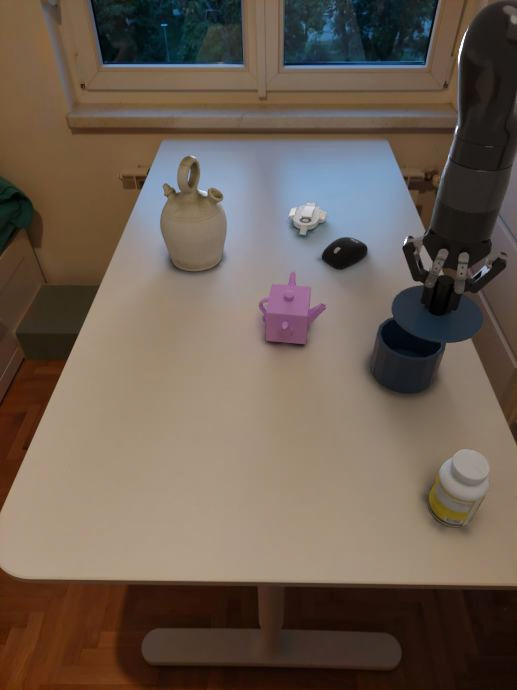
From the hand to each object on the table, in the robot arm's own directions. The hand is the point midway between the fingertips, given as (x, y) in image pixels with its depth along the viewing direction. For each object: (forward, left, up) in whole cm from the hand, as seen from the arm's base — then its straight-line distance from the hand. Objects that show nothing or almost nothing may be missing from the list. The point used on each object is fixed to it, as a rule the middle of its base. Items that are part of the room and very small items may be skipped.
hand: (438, 307), depth 72 cm
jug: (+55, -30, -23) cm, 67 cm away
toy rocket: (+35, -56, -23) cm, 70 cm away
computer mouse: (+21, -43, -23) cm, 53 cm away
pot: (+2, -9, -23) cm, 24 cm away
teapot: (+25, -12, -23) cm, 36 cm away
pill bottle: (-9, +17, -23) cm, 30 cm away
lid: (0, 0, -1) cm, 1 cm away
